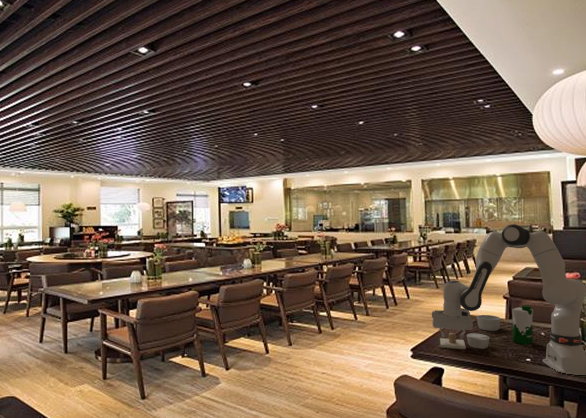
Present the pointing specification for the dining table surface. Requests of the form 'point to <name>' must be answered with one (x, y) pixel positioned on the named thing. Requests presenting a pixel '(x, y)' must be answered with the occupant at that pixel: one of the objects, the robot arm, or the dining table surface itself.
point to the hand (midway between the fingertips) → (452, 336)
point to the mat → (452, 347)
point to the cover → (452, 341)
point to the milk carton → (522, 325)
